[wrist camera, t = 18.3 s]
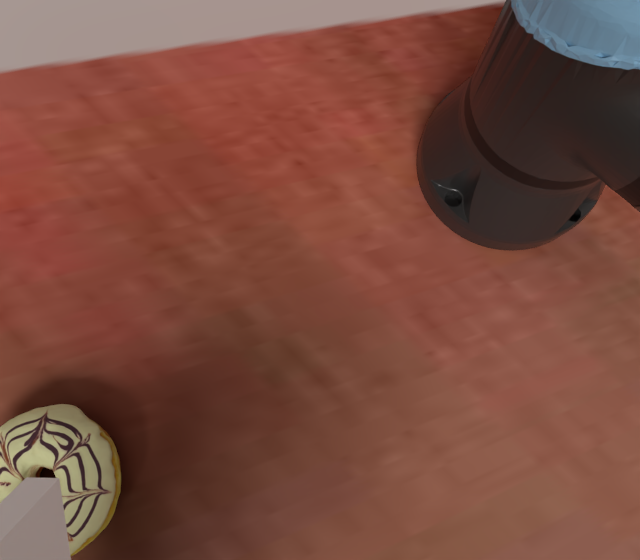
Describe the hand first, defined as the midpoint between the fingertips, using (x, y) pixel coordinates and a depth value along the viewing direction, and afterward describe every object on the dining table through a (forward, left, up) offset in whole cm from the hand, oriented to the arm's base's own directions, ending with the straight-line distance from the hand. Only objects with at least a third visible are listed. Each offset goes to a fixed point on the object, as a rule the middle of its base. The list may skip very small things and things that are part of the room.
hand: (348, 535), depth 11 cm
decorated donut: (+20, +6, -28) cm, 35 cm away
